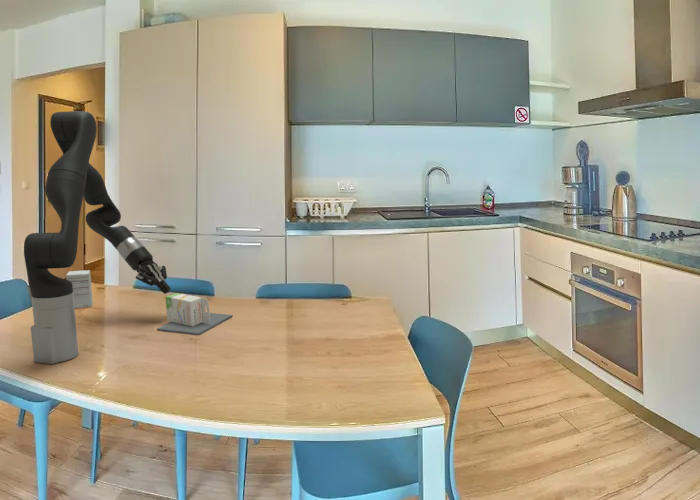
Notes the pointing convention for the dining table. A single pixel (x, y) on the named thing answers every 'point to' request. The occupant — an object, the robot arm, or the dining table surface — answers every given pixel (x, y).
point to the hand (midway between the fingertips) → (168, 291)
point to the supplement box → (81, 288)
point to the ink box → (187, 309)
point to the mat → (196, 329)
